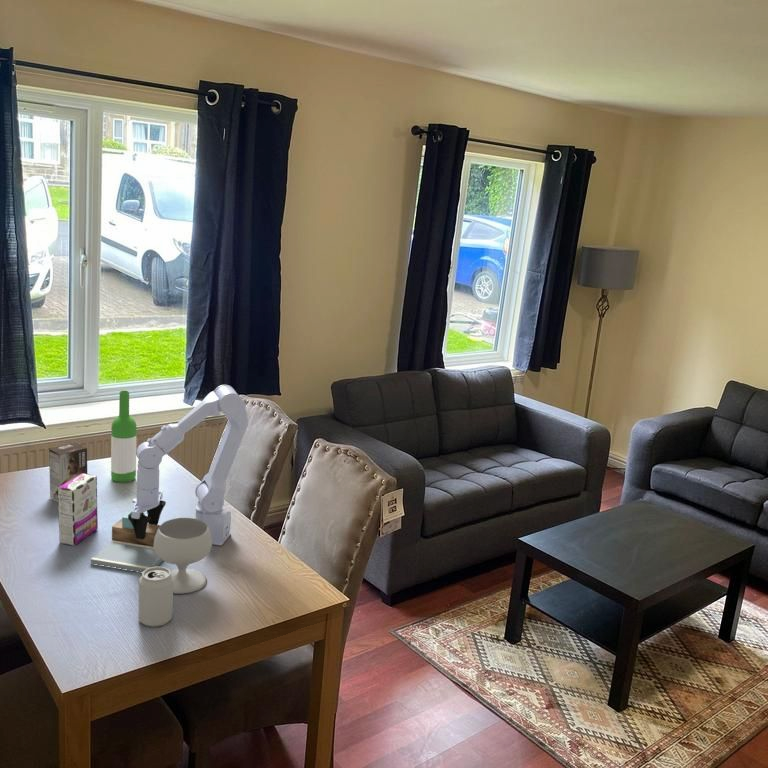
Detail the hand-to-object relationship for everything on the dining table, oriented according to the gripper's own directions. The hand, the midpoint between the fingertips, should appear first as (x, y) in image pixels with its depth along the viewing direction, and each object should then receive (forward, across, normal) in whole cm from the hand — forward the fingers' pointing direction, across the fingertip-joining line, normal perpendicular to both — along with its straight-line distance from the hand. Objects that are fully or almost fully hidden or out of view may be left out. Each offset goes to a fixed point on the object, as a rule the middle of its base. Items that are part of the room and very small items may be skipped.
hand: (146, 532), depth 201 cm
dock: (+3, +9, 0) cm, 10 cm away
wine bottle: (+4, -39, -27) cm, 48 cm away
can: (+4, +33, +18) cm, 38 cm away
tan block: (+4, 0, -2) cm, 4 cm away
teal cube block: (-1, 0, -4) cm, 4 cm away
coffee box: (+4, -20, -35) cm, 40 cm away
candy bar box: (+4, +2, -19) cm, 19 cm away
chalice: (+4, +16, +17) cm, 24 cm away
